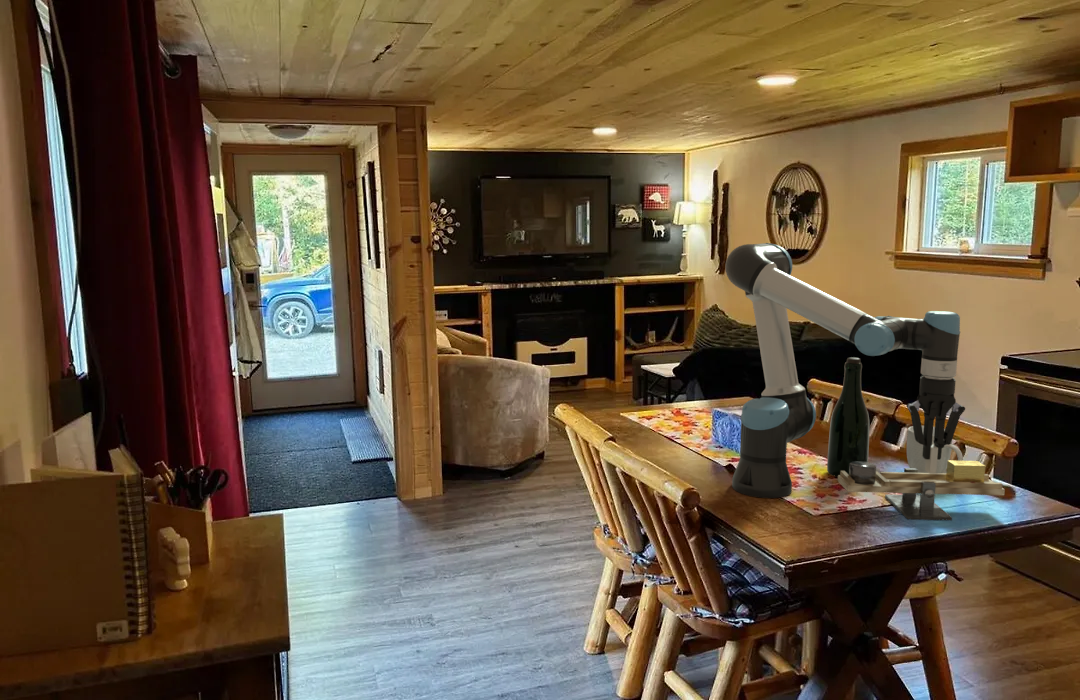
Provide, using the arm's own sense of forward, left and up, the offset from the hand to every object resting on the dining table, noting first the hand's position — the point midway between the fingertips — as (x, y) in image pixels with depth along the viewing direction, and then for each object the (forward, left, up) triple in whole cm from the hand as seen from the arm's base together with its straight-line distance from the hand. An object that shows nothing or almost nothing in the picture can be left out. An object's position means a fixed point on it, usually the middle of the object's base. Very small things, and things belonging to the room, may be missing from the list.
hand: (930, 471), depth 188 cm
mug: (+11, +25, -10) cm, 29 cm away
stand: (-2, 0, -9) cm, 10 cm away
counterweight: (-16, 0, -3) cm, 16 cm away
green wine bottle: (-11, +26, -10) cm, 30 cm away
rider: (+8, 0, -3) cm, 9 cm away
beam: (-2, 0, -3) cm, 4 cm away
